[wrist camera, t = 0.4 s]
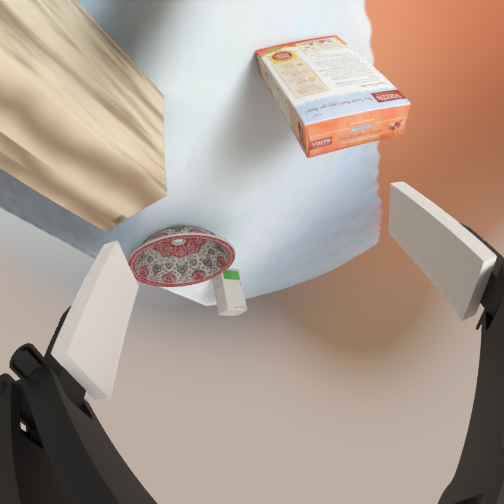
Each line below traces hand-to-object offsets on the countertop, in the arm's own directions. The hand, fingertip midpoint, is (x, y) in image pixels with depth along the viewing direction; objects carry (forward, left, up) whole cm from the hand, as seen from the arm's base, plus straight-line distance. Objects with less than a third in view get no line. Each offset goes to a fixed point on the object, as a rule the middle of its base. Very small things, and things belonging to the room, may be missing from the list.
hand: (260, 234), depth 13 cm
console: (-11, -14, -37) cm, 41 cm away
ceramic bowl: (+38, -46, -37) cm, 70 cm away
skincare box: (+67, -55, -37) cm, 94 cm away
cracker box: (+17, +7, -37) cm, 41 cm away
